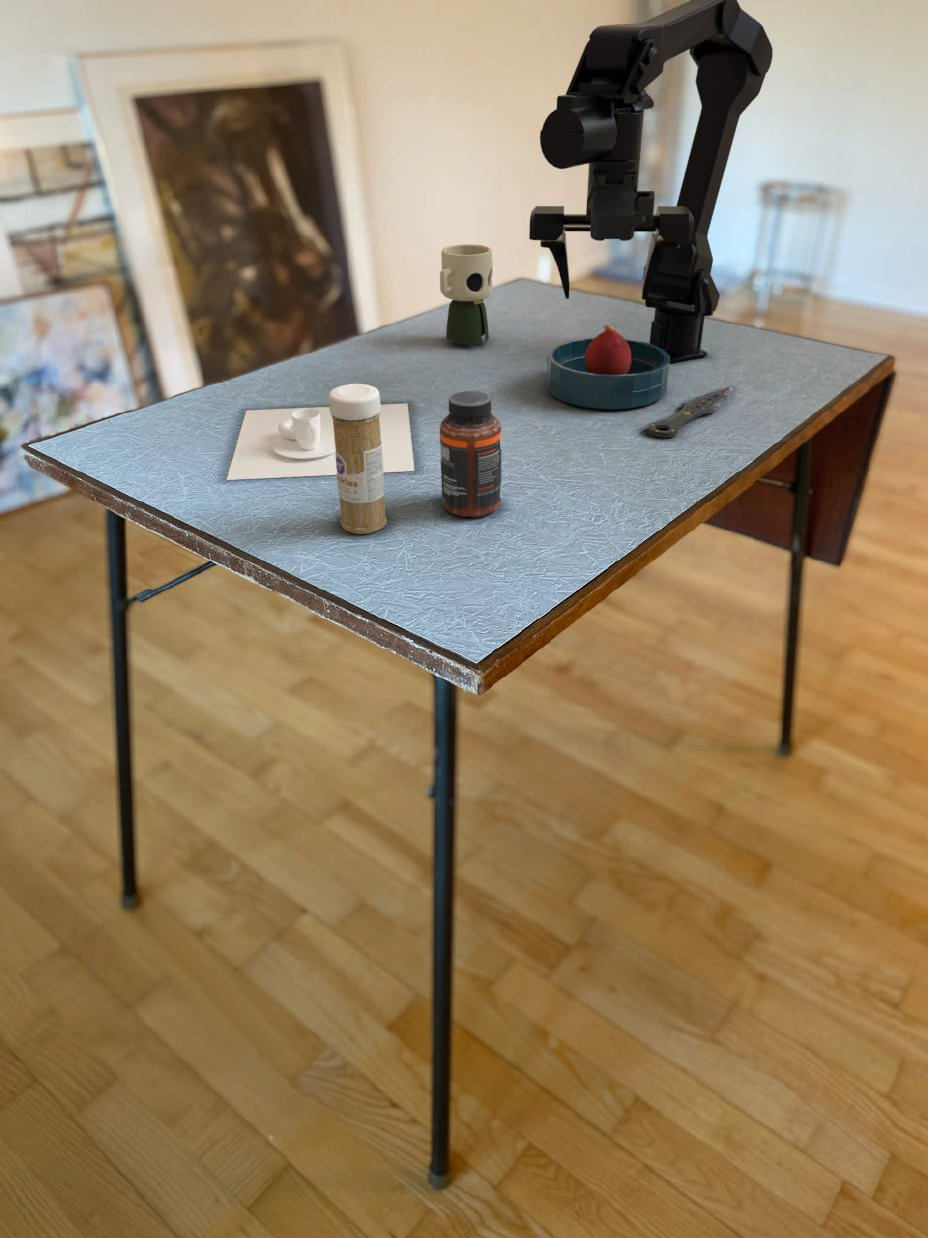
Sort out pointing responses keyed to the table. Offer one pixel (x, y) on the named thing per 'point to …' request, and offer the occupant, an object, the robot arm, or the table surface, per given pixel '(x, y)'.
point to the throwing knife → (689, 412)
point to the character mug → (466, 291)
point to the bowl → (607, 377)
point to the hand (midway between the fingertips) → (605, 298)
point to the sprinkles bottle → (358, 457)
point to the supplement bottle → (470, 456)
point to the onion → (608, 354)
